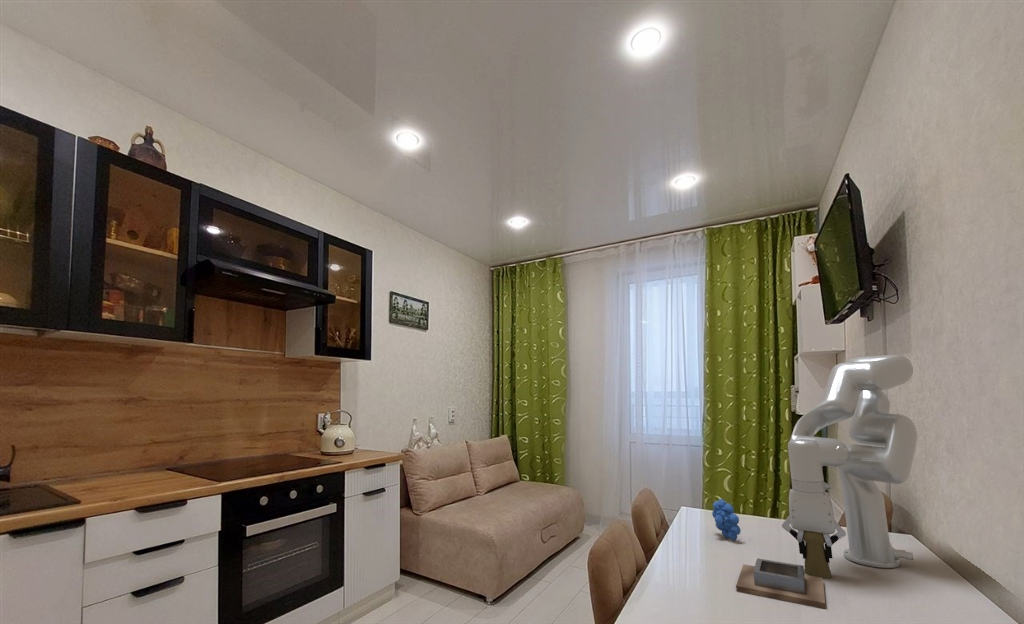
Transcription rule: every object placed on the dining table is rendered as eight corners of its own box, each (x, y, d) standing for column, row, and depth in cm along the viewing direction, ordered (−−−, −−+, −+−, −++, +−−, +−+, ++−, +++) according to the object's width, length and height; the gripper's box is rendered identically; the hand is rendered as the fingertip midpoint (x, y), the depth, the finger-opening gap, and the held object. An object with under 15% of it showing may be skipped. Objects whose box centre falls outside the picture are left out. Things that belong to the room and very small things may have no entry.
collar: (804, 578, 115) (803, 565, 116) (804, 594, 107) (803, 580, 107) (758, 570, 121) (757, 558, 121) (754, 584, 112) (753, 571, 113)
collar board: (823, 583, 115) (822, 577, 116) (825, 608, 102) (825, 603, 102) (743, 569, 125) (743, 564, 125) (736, 591, 111) (735, 585, 112)
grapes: (704, 534, 155) (701, 496, 157) (721, 532, 156) (718, 495, 158) (729, 545, 143) (725, 505, 145) (746, 543, 145) (743, 503, 147)
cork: (832, 580, 117) (827, 534, 119) (804, 575, 120) (799, 530, 122) (831, 572, 122) (826, 528, 124) (804, 568, 125) (799, 525, 127)
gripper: (845, 487, 123) (854, 560, 120) (773, 481, 132) (780, 549, 129) (847, 492, 117) (857, 570, 114) (771, 486, 126) (778, 557, 123)
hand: (816, 558), depth 122 cm, fingers closed on cork, 4 cm apart
